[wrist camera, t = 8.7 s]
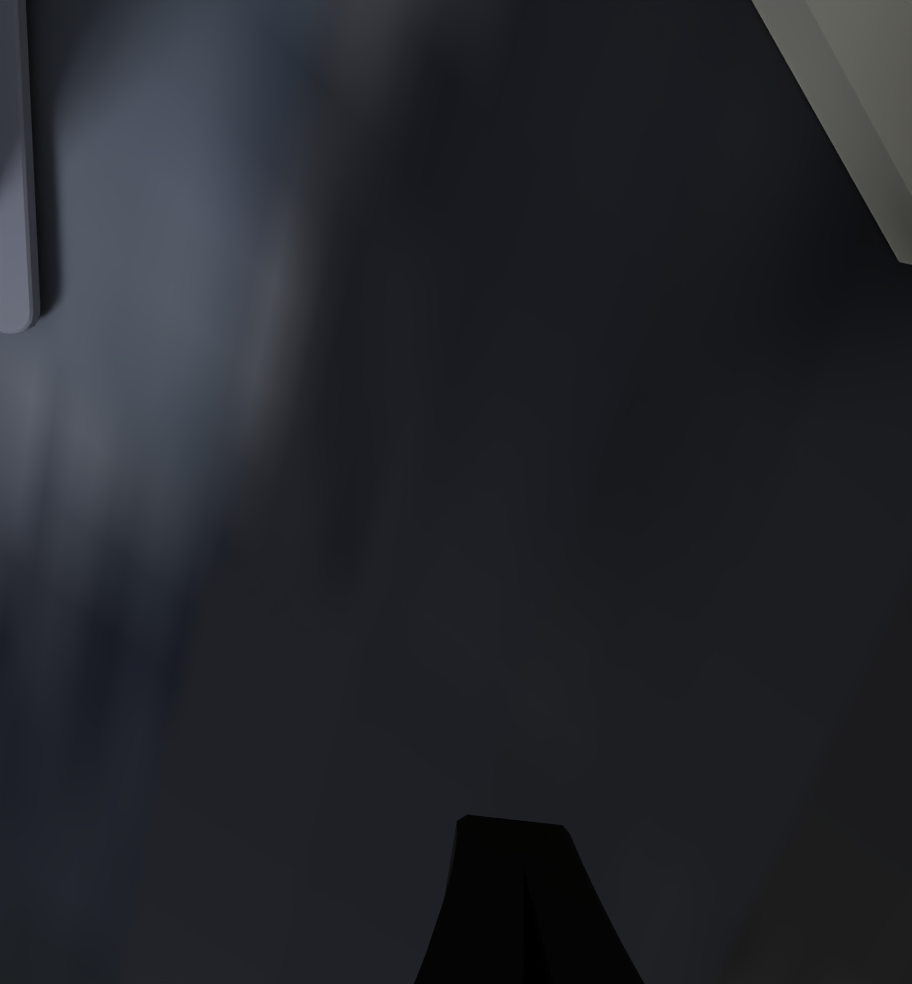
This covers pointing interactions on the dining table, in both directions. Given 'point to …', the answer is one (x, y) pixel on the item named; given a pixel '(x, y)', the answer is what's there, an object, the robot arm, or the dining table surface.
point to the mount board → (858, 93)
